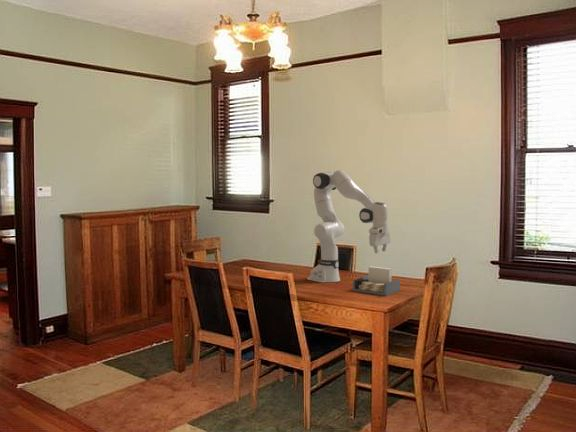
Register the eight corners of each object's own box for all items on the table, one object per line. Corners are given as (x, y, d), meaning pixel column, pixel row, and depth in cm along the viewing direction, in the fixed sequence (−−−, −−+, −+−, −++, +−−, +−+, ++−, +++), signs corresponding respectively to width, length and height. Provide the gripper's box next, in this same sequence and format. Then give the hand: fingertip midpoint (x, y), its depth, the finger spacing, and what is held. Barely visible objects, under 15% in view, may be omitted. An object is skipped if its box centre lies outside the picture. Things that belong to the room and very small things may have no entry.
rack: (352, 291, 324) (353, 279, 324) (367, 286, 338) (367, 275, 338) (386, 296, 311) (386, 284, 310) (400, 290, 325) (400, 279, 325)
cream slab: (368, 286, 331) (368, 266, 330) (370, 285, 333) (370, 266, 332) (389, 289, 322) (389, 269, 321) (391, 288, 325) (391, 268, 324)
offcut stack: (358, 288, 324) (358, 282, 323) (363, 287, 328) (363, 280, 328) (382, 292, 314) (382, 285, 314) (387, 290, 318) (387, 284, 318)
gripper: (383, 227, 335) (383, 249, 336) (367, 230, 319) (367, 253, 320) (393, 228, 331) (392, 250, 332) (376, 231, 315) (376, 254, 316)
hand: (380, 252), depth 326 cm, fingers open, 8 cm apart
